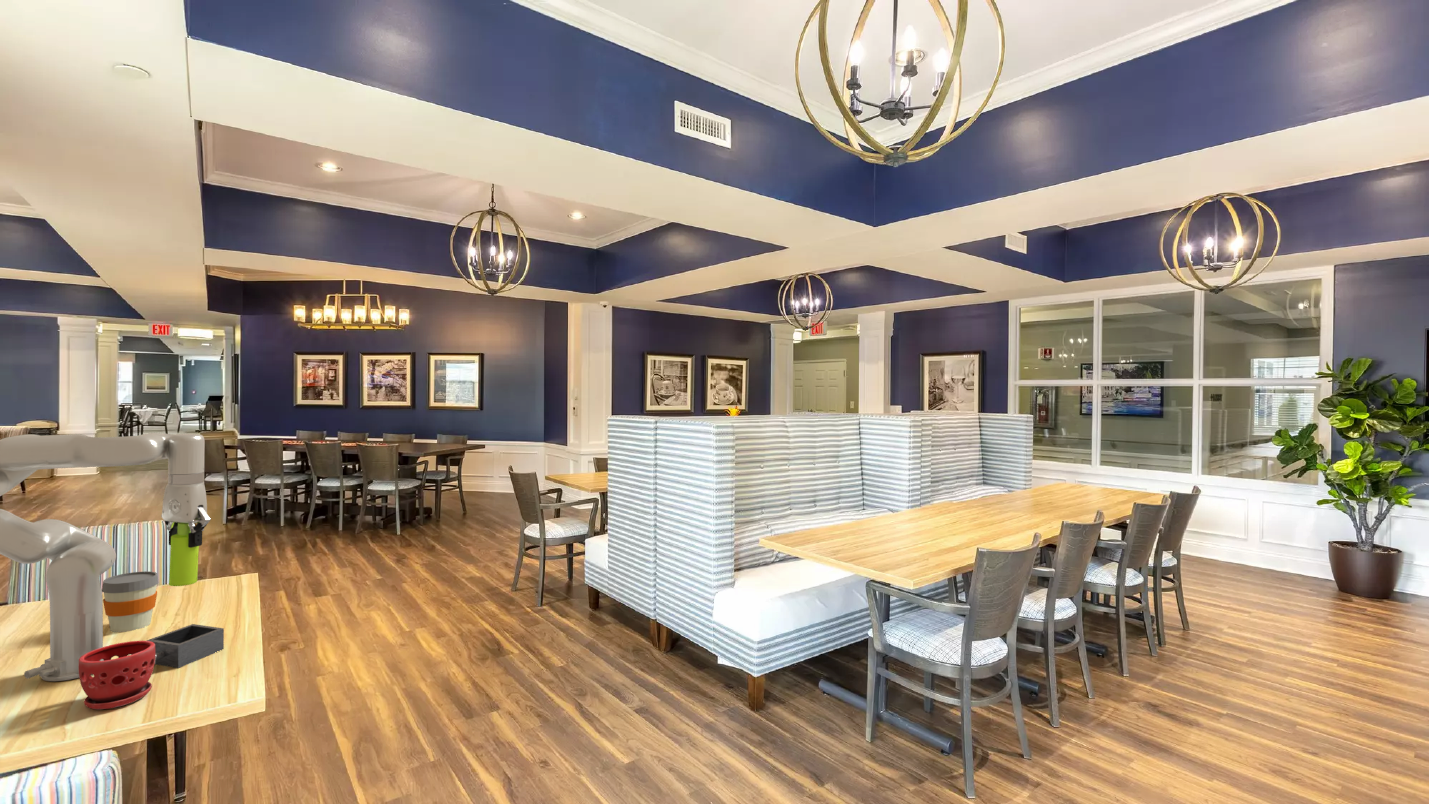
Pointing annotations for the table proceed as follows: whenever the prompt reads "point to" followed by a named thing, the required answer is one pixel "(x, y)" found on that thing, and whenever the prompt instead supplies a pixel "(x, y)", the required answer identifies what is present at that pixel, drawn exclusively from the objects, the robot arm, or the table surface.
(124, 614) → the reusable coffee cup
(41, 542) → the robot arm
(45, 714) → the table surface
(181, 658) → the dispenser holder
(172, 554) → the soap dispenser
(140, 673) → the plant pot
